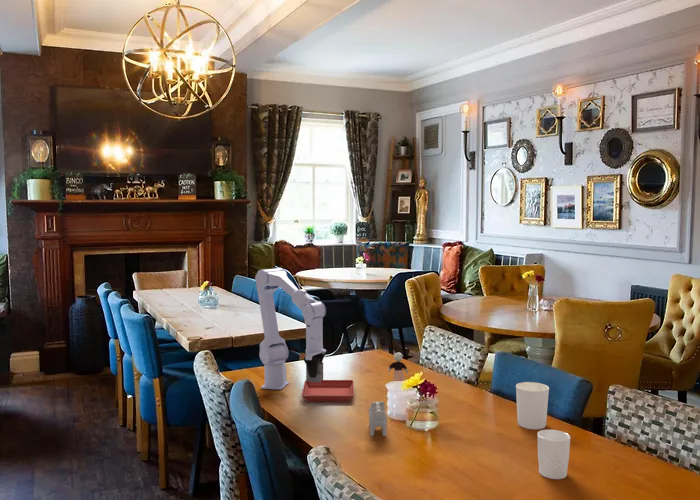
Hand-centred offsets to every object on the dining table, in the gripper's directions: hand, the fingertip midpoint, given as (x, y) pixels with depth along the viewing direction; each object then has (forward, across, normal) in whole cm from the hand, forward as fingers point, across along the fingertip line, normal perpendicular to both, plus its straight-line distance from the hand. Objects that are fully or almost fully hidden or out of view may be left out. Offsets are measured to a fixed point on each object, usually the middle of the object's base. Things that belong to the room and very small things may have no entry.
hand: (314, 375), depth 218 cm
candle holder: (+9, -10, -72) cm, 73 cm away
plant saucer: (+9, +6, -3) cm, 11 cm away
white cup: (+9, -45, -76) cm, 88 cm away
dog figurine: (+9, -26, -28) cm, 39 cm away
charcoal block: (+2, 0, 0) cm, 2 cm away
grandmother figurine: (+9, +22, -26) cm, 35 cm away
